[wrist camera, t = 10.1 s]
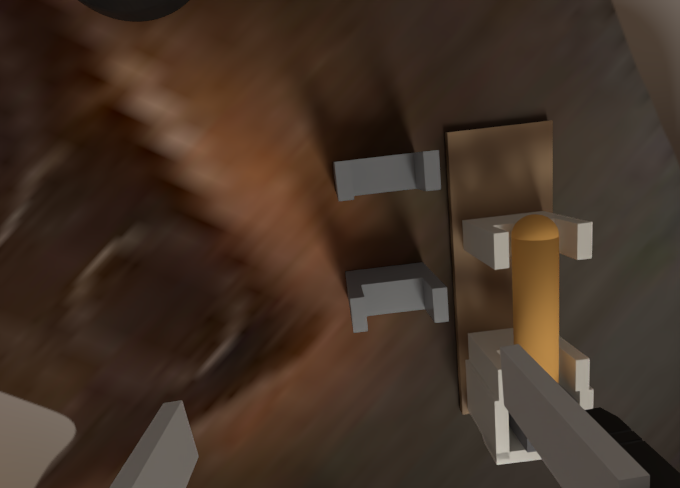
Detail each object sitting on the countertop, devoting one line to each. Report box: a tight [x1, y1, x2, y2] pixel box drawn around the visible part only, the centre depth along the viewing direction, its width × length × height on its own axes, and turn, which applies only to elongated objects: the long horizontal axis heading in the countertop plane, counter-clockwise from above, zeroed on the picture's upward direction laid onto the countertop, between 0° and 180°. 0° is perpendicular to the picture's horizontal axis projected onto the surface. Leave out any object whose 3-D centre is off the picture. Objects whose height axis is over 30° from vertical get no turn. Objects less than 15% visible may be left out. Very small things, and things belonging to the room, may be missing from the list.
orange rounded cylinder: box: [508, 214, 578, 453], centre depth 34 cm, size 20×4×4 cm, turn 6°
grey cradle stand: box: [333, 150, 449, 333], centre depth 35 cm, size 14×8×8 cm, turn 6°
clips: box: [462, 211, 594, 465], centre depth 37 cm, size 22×9×7 cm, turn 6°
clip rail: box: [445, 120, 553, 414], centre depth 40 cm, size 30×10×1 cm, turn 6°
